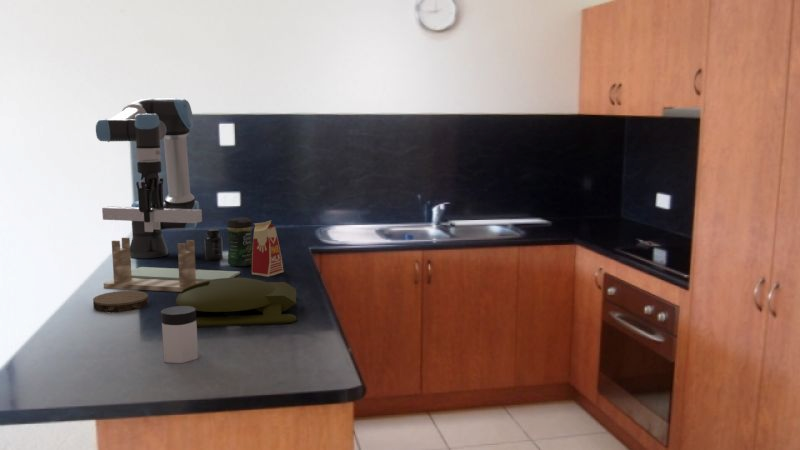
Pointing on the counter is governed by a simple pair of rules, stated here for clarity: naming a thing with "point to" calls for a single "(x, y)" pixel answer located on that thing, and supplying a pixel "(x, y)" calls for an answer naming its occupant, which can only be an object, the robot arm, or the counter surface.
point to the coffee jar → (240, 241)
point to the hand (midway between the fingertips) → (152, 230)
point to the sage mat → (174, 274)
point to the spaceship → (240, 301)
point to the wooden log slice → (120, 301)
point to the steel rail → (157, 213)
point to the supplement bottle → (213, 245)
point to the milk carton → (266, 250)
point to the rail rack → (127, 282)
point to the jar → (179, 334)
